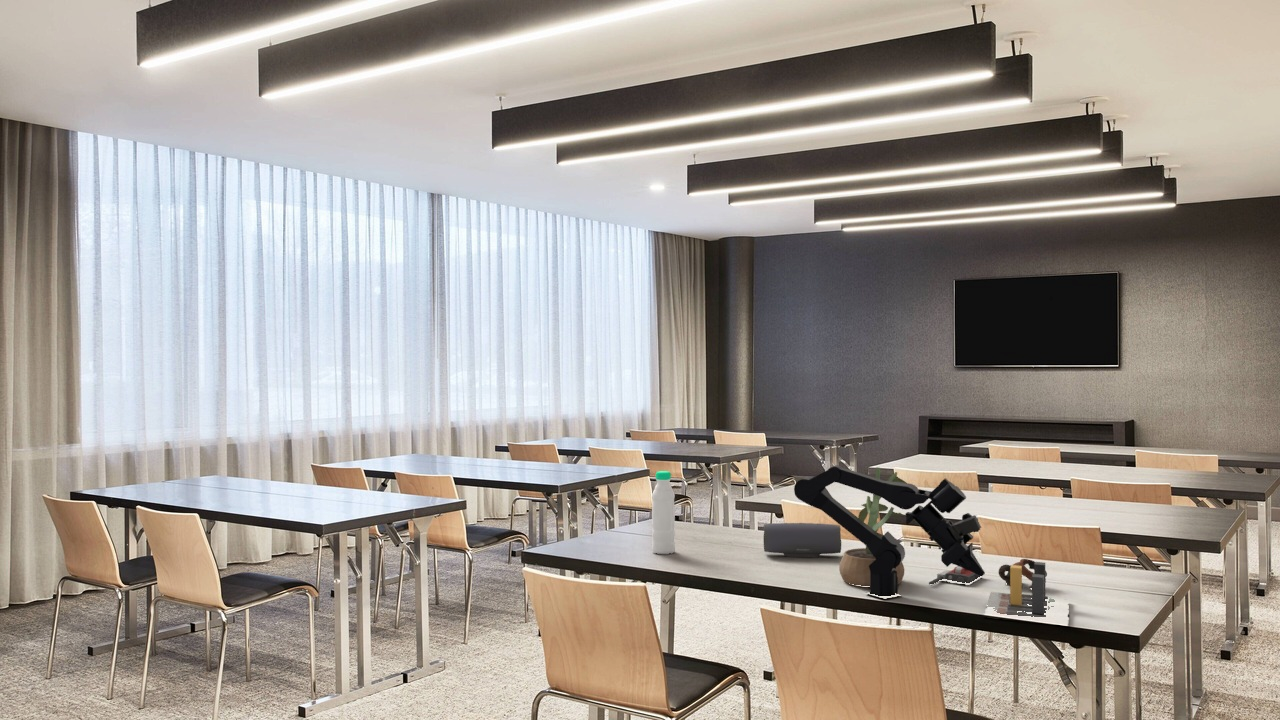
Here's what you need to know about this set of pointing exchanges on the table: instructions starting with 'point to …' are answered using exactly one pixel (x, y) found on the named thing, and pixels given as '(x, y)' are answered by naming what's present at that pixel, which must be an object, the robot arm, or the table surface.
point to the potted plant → (858, 560)
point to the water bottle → (663, 515)
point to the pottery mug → (1024, 570)
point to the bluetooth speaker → (802, 539)
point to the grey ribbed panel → (1024, 597)
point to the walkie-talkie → (956, 575)
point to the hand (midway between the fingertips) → (983, 574)
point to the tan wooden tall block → (1016, 585)
